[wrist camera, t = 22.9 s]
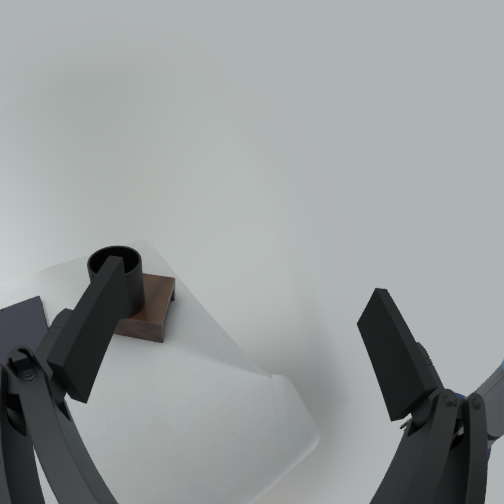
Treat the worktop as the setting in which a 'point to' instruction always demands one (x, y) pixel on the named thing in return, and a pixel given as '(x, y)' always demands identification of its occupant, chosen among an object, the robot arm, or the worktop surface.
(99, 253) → the mug
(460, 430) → the robot arm
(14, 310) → the notebook
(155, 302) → the wooden stand
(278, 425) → the worktop surface
